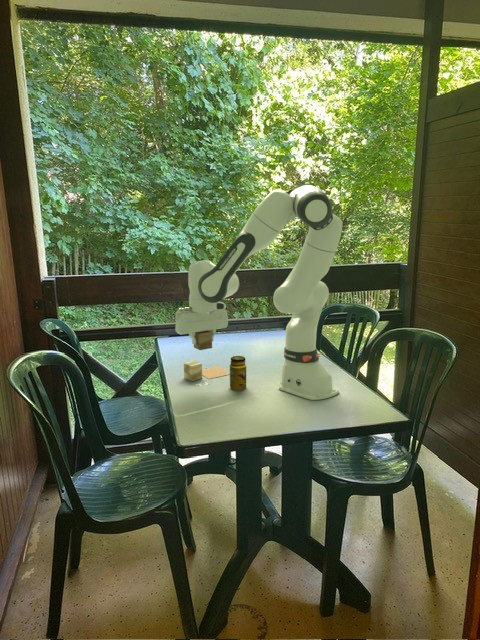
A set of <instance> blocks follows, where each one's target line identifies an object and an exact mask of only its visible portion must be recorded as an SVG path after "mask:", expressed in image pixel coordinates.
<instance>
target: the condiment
mask: <svg viewBox="0 0 480 640" xmlns="http://www.w3.org/2000/svg"><path fill="white" fill-rule="evenodd" d="M229 372H230V375H229V387H230V390H232V391H237V392H238V391H239V392H240V391H243V390H244V391H245V390H246V388H247V364H246V357H245V356H243V355H235V356H234V355H233V356H231V357H230V364H229Z"/></svg>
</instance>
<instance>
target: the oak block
mask: <svg viewBox="0 0 480 640" xmlns="http://www.w3.org/2000/svg"><path fill="white" fill-rule="evenodd" d="M202 370H203V364H202V362H199V361H196V360H190V361H188V362H183V378H184V379H185V380H188V381H190V382H194V381H197V380H200V379H203V376H202Z"/></svg>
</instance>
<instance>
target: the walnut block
mask: <svg viewBox="0 0 480 640" xmlns="http://www.w3.org/2000/svg"><path fill="white" fill-rule="evenodd" d="M194 337H195V339H198V344H195V345H194V344H193V348H194V349H196V350H199V351H203V350H208V349H212V348H213V342H212V332H210V330H208V331H202V332H195V336H194Z"/></svg>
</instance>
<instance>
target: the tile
mask: <svg viewBox="0 0 480 640" xmlns="http://www.w3.org/2000/svg"><path fill="white" fill-rule="evenodd" d="M198 385H199V386H200V387H202V386H203V385H202V383H196V384H195V386H198ZM208 385H209V383H208V382H204V386H208Z"/></svg>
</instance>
